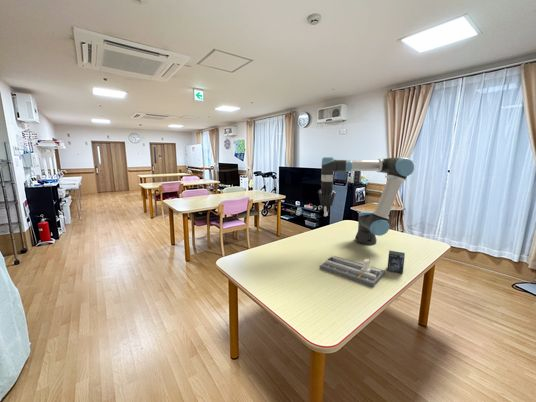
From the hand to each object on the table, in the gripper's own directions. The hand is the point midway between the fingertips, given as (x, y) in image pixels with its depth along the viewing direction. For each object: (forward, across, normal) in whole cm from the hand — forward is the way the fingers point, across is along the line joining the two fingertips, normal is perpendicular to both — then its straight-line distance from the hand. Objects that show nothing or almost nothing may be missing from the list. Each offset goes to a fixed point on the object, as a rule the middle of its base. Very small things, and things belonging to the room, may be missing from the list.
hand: (325, 215), depth 161 cm
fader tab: (+22, +35, -18) cm, 45 cm away
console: (+24, +27, -18) cm, 41 cm away
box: (+25, +45, -1) cm, 51 cm away
